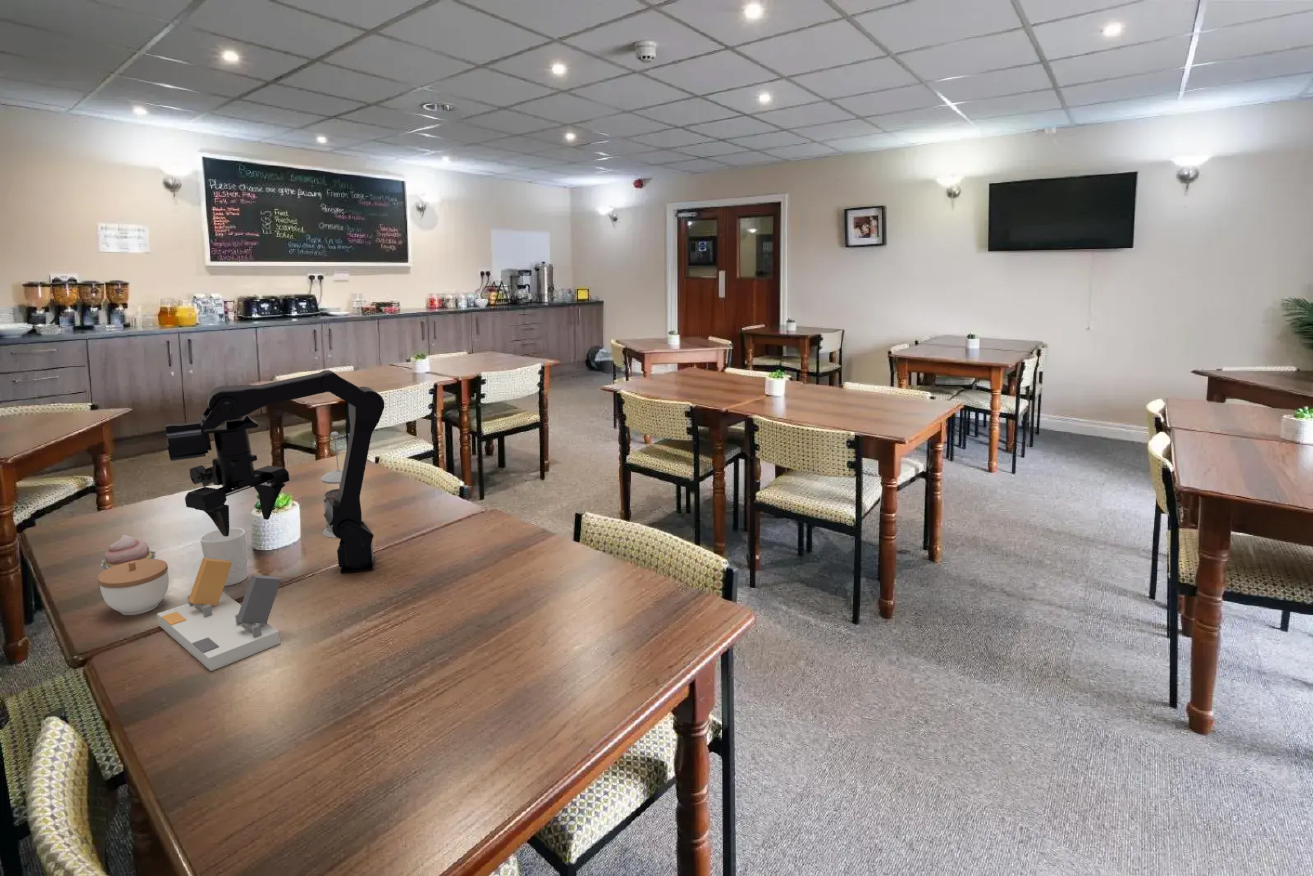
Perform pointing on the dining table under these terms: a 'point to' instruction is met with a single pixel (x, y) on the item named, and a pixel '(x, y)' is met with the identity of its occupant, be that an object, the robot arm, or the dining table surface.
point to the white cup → (227, 552)
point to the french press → (331, 478)
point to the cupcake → (126, 552)
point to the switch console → (216, 632)
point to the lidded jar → (135, 585)
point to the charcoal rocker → (258, 600)
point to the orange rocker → (209, 582)
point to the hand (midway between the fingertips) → (246, 527)
